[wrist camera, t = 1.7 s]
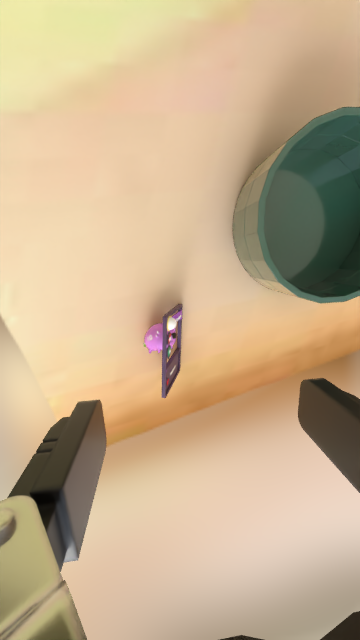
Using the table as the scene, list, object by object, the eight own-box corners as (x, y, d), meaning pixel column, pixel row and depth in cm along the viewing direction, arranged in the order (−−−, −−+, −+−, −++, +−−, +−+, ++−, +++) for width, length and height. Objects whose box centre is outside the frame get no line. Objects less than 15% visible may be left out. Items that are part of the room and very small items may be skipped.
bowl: (233, 145, 25) (263, 105, 18) (373, 145, 26) (447, 108, 20) (231, 296, 29) (254, 307, 23) (351, 288, 31) (406, 297, 24)
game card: (171, 400, 25) (174, 317, 22) (126, 392, 26) (123, 312, 23) (185, 371, 31) (188, 304, 29) (148, 366, 32) (147, 301, 30)
